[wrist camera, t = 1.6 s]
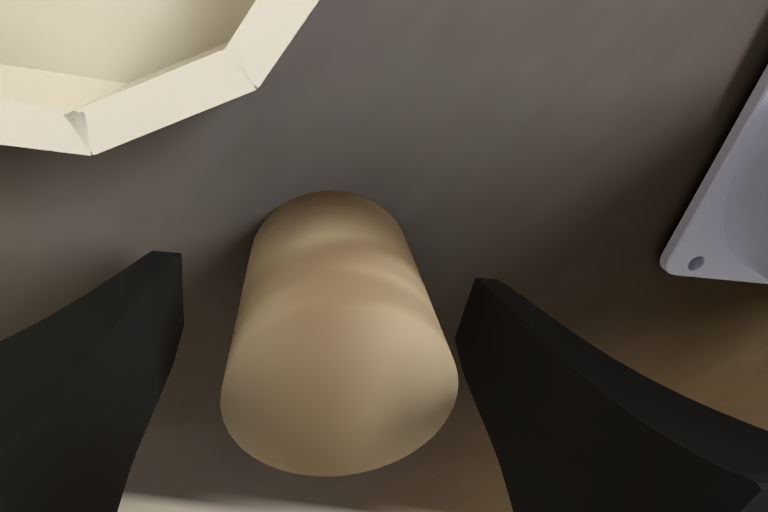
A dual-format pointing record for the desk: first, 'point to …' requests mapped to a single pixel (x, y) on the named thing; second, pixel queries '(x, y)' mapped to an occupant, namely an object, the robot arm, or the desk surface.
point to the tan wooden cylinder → (335, 343)
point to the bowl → (130, 65)
